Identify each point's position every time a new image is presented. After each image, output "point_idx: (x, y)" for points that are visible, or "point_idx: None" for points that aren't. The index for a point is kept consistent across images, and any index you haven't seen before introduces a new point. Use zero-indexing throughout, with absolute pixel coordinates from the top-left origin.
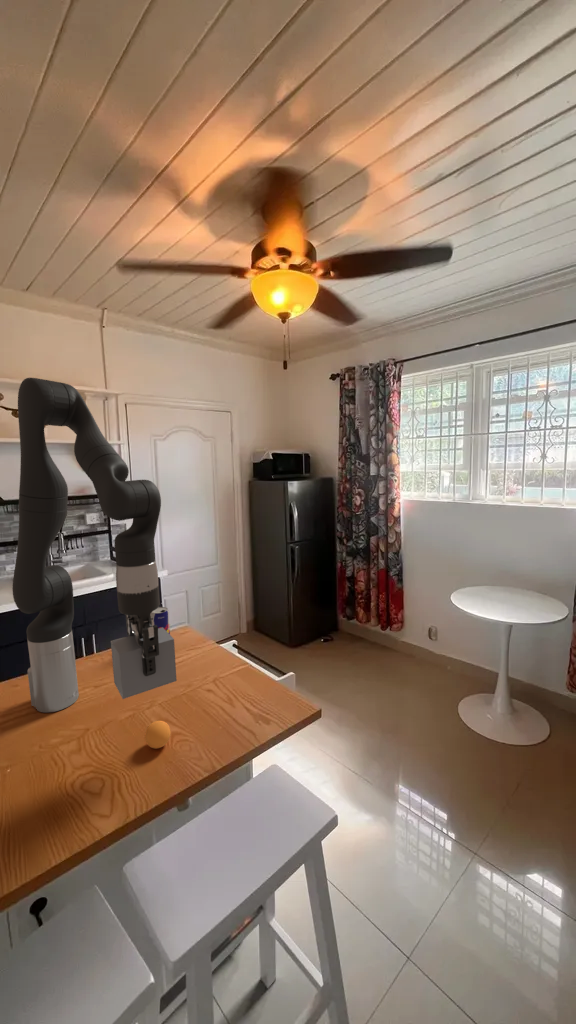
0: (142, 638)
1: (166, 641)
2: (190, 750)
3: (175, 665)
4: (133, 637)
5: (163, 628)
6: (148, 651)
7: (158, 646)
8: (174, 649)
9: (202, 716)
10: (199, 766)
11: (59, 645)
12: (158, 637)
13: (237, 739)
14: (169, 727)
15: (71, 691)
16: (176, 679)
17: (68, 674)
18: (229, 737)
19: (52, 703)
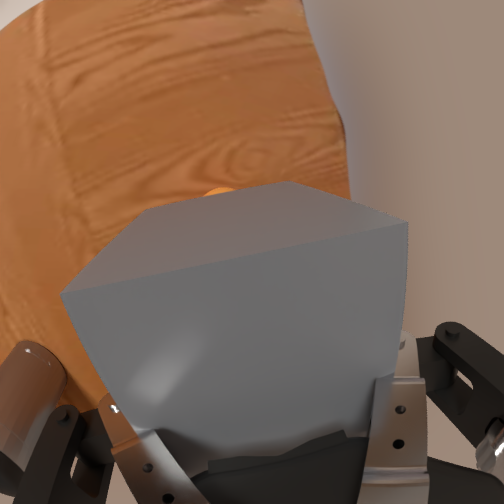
0: (247, 437)
1: (405, 288)
2: (268, 152)
3: (312, 188)
4: (204, 467)
5: (89, 291)
6: (451, 382)
7: (491, 348)
8: (356, 204)
9: (165, 105)
10: (318, 148)
11: (12, 446)
12: (297, 350)
13: (280, 61)
14: (224, 190)
15: (38, 364)
16: (291, 181)
17: (27, 389)
18: (267, 72)
19: (60, 383)
